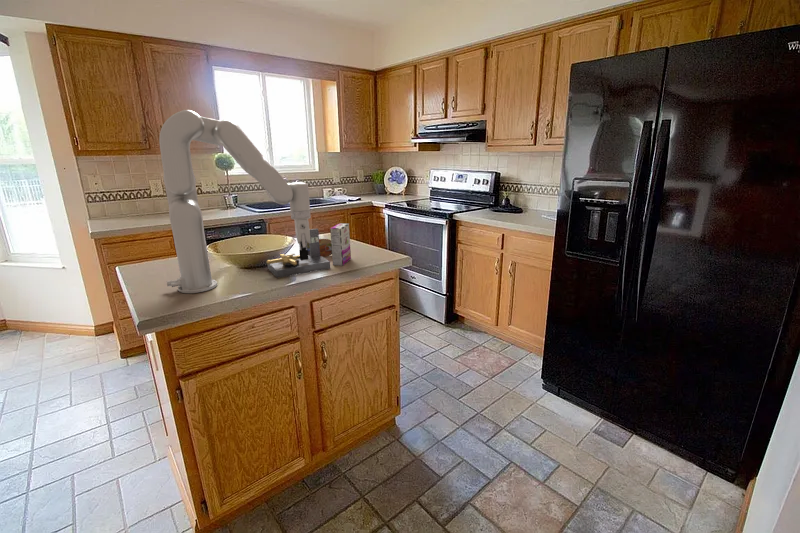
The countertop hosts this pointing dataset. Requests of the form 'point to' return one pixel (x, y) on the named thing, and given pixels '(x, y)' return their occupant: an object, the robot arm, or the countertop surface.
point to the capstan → (286, 260)
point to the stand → (304, 266)
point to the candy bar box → (340, 244)
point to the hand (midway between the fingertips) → (304, 259)
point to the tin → (323, 247)
